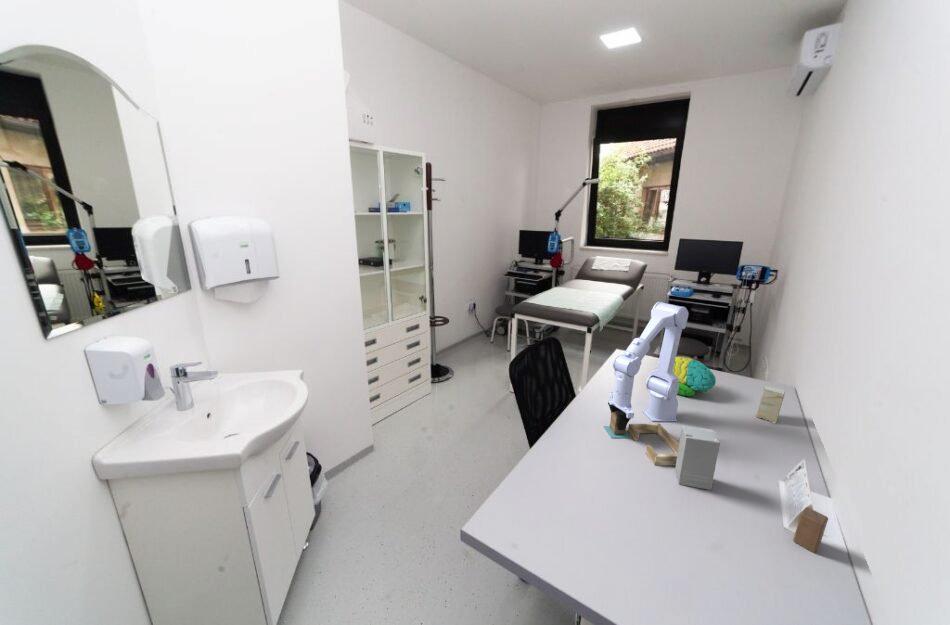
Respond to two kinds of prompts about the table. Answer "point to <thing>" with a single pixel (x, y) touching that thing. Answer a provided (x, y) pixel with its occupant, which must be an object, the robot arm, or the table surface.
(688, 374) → the brain model
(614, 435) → the mat
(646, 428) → the open wooden frame
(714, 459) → the skincare box
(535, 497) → the table surface
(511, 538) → the table surface
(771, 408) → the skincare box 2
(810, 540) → the wooden block
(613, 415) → the walnut block
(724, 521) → the table surface
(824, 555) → the table surface
